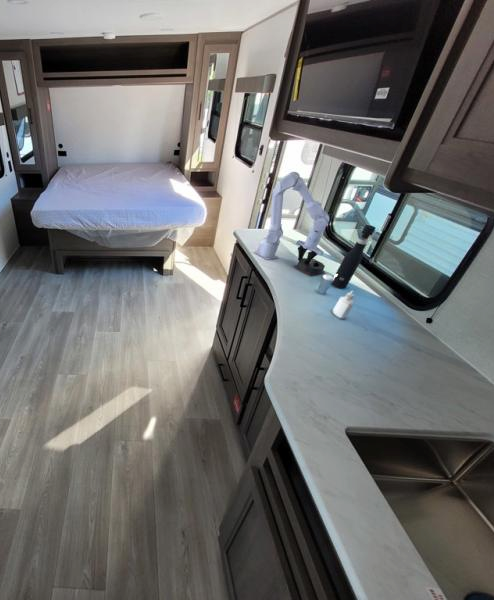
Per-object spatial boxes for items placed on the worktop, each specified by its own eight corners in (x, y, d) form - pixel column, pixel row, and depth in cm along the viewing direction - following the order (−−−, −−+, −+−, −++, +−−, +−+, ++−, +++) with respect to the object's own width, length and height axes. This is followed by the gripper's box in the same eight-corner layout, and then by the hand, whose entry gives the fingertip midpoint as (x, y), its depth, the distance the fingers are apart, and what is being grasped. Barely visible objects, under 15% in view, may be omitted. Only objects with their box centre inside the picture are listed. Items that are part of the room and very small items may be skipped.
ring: (292, 264, 163) (294, 259, 161) (307, 261, 167) (309, 256, 165) (311, 275, 154) (313, 270, 152) (327, 271, 158) (329, 266, 156)
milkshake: (330, 295, 141) (340, 276, 136) (318, 294, 141) (328, 276, 136) (324, 290, 145) (334, 271, 139) (313, 289, 145) (322, 271, 139)
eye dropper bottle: (333, 317, 128) (347, 293, 121) (331, 309, 132) (345, 286, 125) (345, 320, 126) (360, 296, 119) (343, 312, 130) (357, 289, 124)
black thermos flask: (341, 282, 152) (373, 224, 135) (348, 289, 147) (382, 230, 129) (328, 281, 152) (358, 223, 135) (334, 288, 147) (367, 228, 130)
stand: (294, 267, 163) (298, 256, 160) (307, 264, 166) (312, 254, 163) (310, 276, 156) (315, 265, 152) (323, 273, 159) (329, 262, 155)
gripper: (296, 233, 159) (286, 256, 167) (321, 244, 149) (309, 269, 156) (305, 232, 162) (295, 255, 170) (331, 243, 151) (319, 267, 159)
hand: (303, 261), depth 163 cm, fingers open, 4 cm apart
